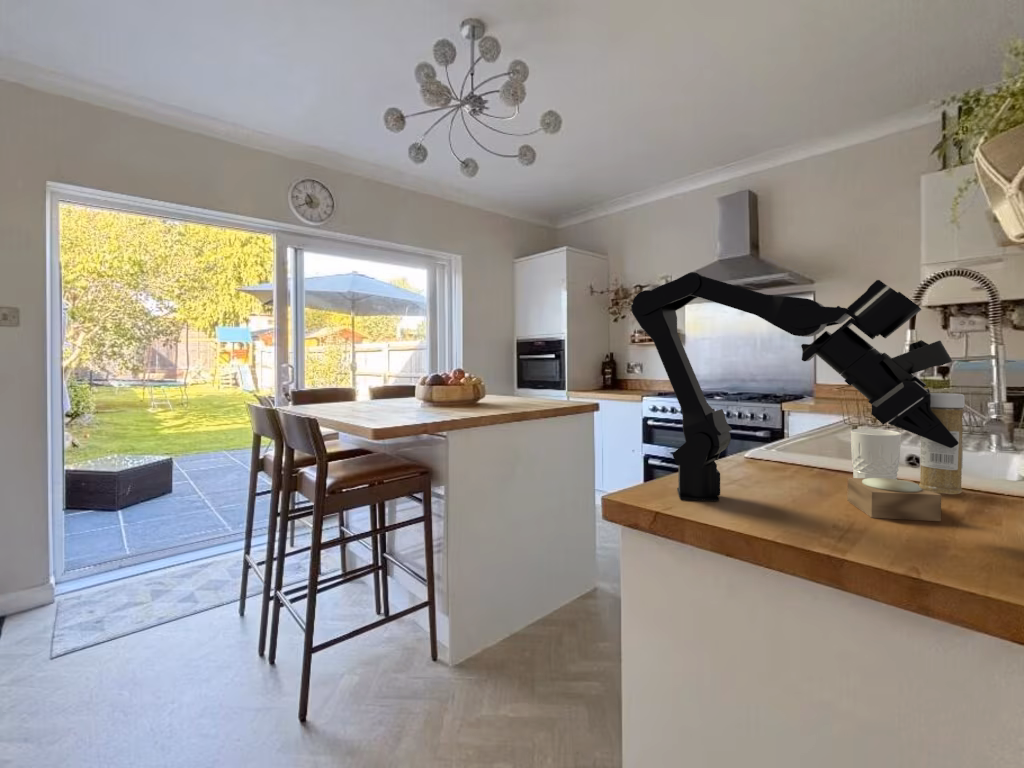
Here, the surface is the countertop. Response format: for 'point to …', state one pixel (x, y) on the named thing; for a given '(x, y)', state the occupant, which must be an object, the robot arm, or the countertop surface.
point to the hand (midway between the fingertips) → (954, 443)
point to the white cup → (875, 453)
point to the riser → (894, 499)
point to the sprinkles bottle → (943, 447)
